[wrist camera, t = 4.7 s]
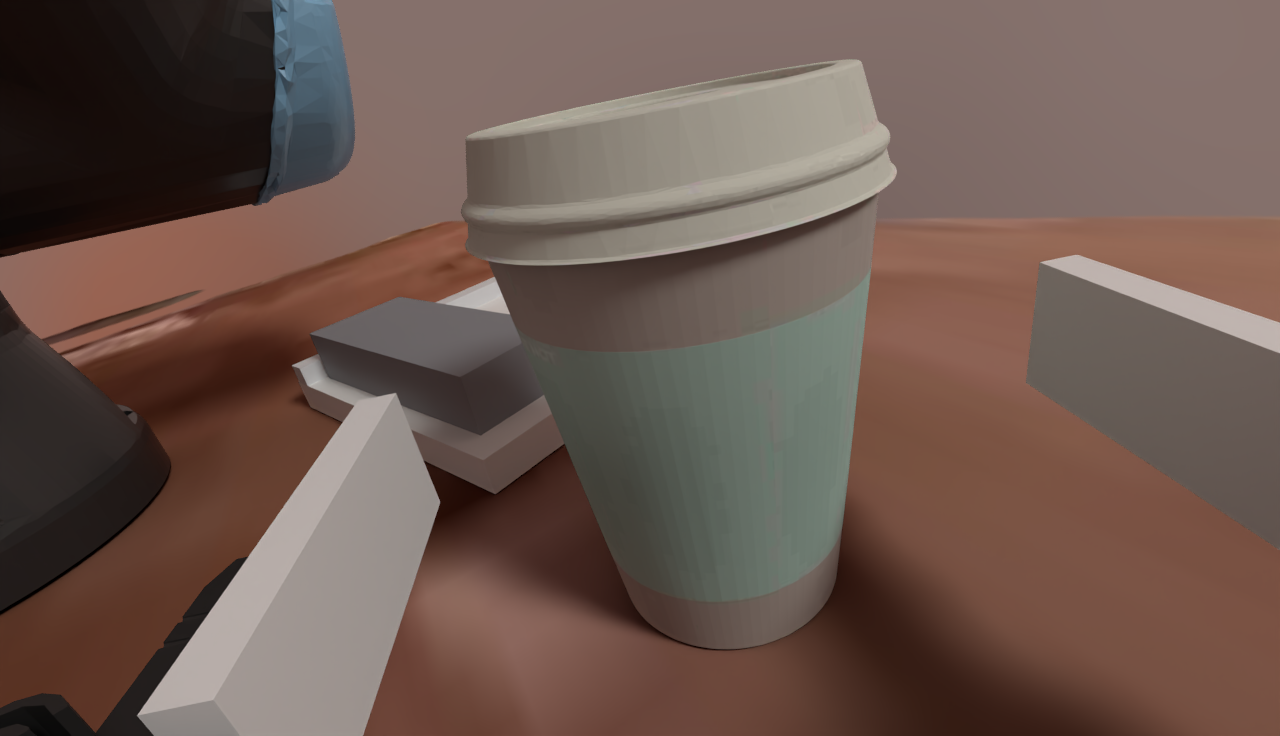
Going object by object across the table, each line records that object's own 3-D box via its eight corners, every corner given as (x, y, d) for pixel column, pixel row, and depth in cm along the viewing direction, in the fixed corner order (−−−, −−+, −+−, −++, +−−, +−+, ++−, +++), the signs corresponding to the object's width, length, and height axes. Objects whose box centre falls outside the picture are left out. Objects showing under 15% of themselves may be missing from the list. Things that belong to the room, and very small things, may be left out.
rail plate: (495, 494, 22) (461, 397, 20) (310, 406, 32) (277, 338, 30) (826, 250, 40) (823, 188, 38) (641, 244, 50) (632, 195, 48)
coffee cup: (868, 464, 19) (861, 51, 14) (928, 721, 12) (960, 53, 7) (615, 471, 22) (529, 114, 16) (533, 694, 14) (329, 169, 9)
